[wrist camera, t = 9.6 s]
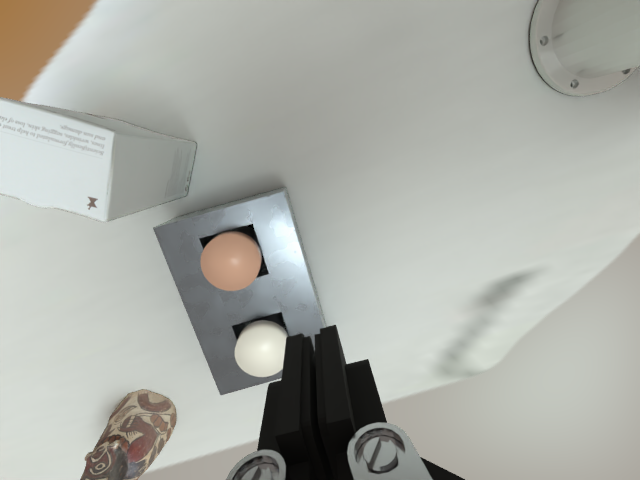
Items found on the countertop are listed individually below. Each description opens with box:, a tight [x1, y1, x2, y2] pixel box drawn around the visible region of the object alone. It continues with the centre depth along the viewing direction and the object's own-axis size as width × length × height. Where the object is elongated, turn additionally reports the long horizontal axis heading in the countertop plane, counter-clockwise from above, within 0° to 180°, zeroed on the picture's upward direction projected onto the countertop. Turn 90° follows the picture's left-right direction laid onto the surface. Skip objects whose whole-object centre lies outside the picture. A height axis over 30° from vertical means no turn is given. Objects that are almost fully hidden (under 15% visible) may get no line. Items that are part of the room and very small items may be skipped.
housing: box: [153, 187, 327, 395], centre depth 34 cm, size 12×18×6 cm, turn 15°
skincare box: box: [0, 97, 197, 222], centre depth 26 cm, size 8×6×15 cm
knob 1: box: [200, 226, 262, 291], centre depth 32 cm, size 5×5×8 cm
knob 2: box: [235, 312, 288, 377], centre depth 34 cm, size 5×5×8 cm
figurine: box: [80, 389, 176, 480], centre depth 34 cm, size 7×7×12 cm
